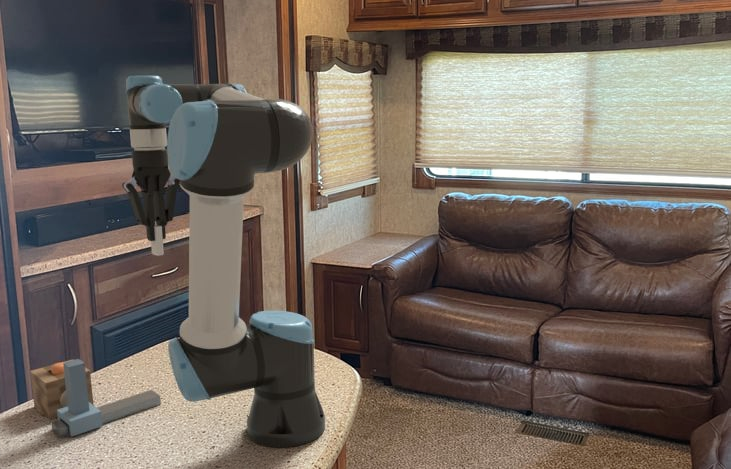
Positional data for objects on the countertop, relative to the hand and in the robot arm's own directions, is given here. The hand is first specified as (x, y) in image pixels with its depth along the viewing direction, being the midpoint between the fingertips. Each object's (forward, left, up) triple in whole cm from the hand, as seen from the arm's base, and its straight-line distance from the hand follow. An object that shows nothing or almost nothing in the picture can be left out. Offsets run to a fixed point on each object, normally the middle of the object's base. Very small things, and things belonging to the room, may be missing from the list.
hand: (157, 254), depth 155 cm
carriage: (-10, +24, -29) cm, 39 cm away
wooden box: (+2, +23, -29) cm, 37 cm away
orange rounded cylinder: (+2, +23, -24) cm, 33 cm away
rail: (-10, +18, -29) cm, 36 cm away
